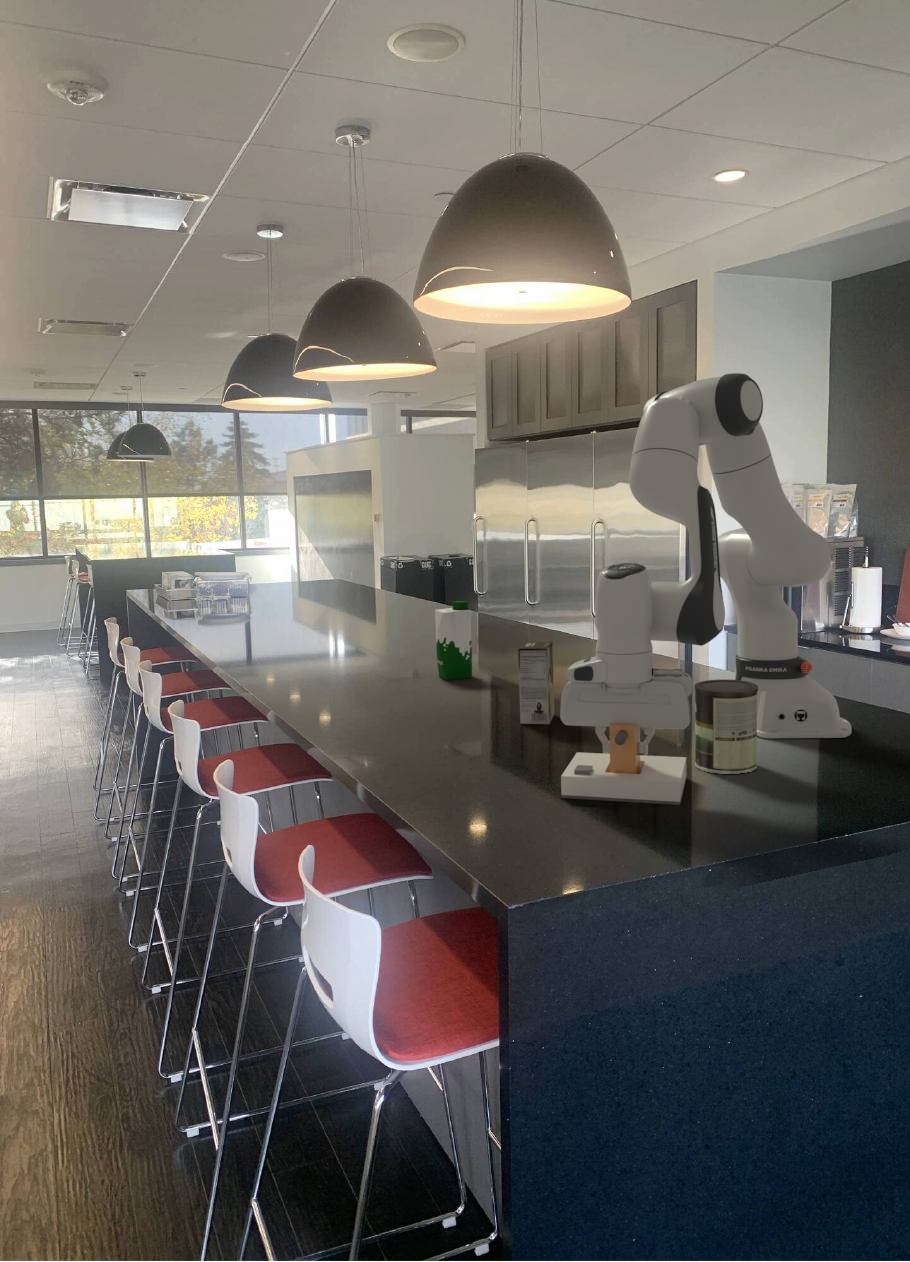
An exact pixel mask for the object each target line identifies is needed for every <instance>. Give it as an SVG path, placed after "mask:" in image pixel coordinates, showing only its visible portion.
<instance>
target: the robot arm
mask: <svg viewBox="0 0 910 1262" xmlns="http://www.w3.org/2000/svg"><path fill="white" fill-rule="evenodd" d="M763 410H764V398H763V395H762V392H761V389H760V386H759V384H758V383H757V382H756V381H755V380H754V378H752V377H750V376H749V375H748V374H746V373H741V372H739V373H738V372H737V373H736V372H735V373H725V374H723V375H722V376H714V377H707V378H702V379H698V380H693V381H692V382H690V383H687V384H685V385H682V386H679V387H676V388H674V389H671V390H668V391H662V392H660V393H658V394H655V395H654V396H652V397H651V398H649V399H648V400H647V401H646V403H645V404H644V406H643V409H642V412H641V414H640V422H639V425H638V428H637V430H636V435H635V439H634V442H633V447H632V452H631V458H630V467H629V475H628V476H629V480H628V481H629V488H630V492H631V494H632V495H633V497H634V499H635V500H636V501H637V503H639V504H640V505H641V506H642V507H643V508H645V509H646V510H648V511H650V512H651V513H653V514H655V515H657V516H660V517H663V518H665V519H667V520H671V521H674V522H676V523H678V524H680V525H682V526H683V527H685V528H686V530H687V532H688V540H689V541H688V542H689V544H688V545H689V559H690V560H689V562H690V563H689V564H690V576H689V578H688V579H687V580H685V581H655V580H650V575H649V572H648V568H647V567H646V566H645V565H643V564H639V563H637V562H636V563H635V562H626V563H625V562H624V563H618V564H617V563H616V564H612V565H608V566H606V567H604V568H603V569H602V570H600V571H599V574H598V576H597V581H596V589H595V599H594V624H595V627H596V631H597V640H596V644H595V656H592V657H588V658H585V659H581V660H579V661H576V662H574V663H572V664H571V665H570V666H569V667H568V668H567V672H566V678H567V680H568V681H567V683H566V685H564V687H563V689H562V693H561V700H560V709H559V710H560V713H559V714H560V717H559V718H560V720H561V721H562V723H563V724H564V725H566V726H574V727H575V726H576V727H577V726H581V727H595V728H594V730H595V731H594V732H595V734H596V736H597V738H598V739H599V741H600V742H601V744H602V754H610V740H609V739H608V737H607V736H606V733H605V732H606V731H607V727H608V728H609V725H610V724H611V723H613V724H636V727H637V728H640V729H644V730H643V731H644V735H646V737H645V739H644V741H640V742H638V744H637V749H638V751H637V754H638V755H646V756H648V753H649V743H650V742H651V741H652V739H653V736H654V735H655V732H656V731H655V730H656V729H658V730H659V729H660V730H662V729H665V730H667V729H668V730H685V729H687V727H689V726H690V724H691V717H692V716H691V704H690V696H691V695H692V693H693V679H692V677H691V675H690V674H689V673H688V672H685V671H683V669H680V668H674V669H669V668H668V669H667V668H654V663H653V662H654V661H653V660H654V658H653V657H654V656H653V655H654V654H653V653H654V652H653V643H652V641H656V642H657V641H658V642H659V641H660V642H678V643H681V644H687V645H694V646H701V647H702V646H704V645H706V644H708V643H709V642H711V641H713V640H714V639H715V638H716V637H718V635H719V634H720V633H722V631H723V630H724V626H725V622H726V621H725V620H726V607H725V602H724V596H723V595H724V594H723V589H722V581H723V582H724V583H725V585H726V587H727V589H728V592H729V593H730V596H731V599H732V602H733V606H734V608H735V613H736V620H737V621H736V622H737V623H736V624H737V654H736V656H735V661H734V680H741V681H747V682H751V683H754V684H756V685H758V691H757V737H759V738H763V739H833V738H835V739H838V738H839V739H840V738H841V739H843V738H847V737H849V736H851V734H852V732H853V731H852V730H853V729H852V725H851V723H850V721H848V720H847V719H845V718H843V717H841V716H840V710H839V704H838V702H837V699H836V698H835V697H834V695H833V694H832V693H831V692H830V691H828V689H826V688H824V687H823V686H822V685H821V684H820V683H818V682H816V680H814V679H813V678H811V677H810V676H809V673H811V671H812V670H813V667H812V663H811V662H809V660H807V659H806V658H804V657H801V656H799V655H798V650H799V649H798V644H799V643H798V637H799V636H798V634H799V621H798V616H797V614H796V612H795V611H794V610H793V609H792V608H791V607H790V606H789V605H787V604H786V602H785V600H784V598H783V597H782V594H781V591H780V588H779V587H785V588H797V587H803V586H809V585H814V584H816V583H818V582H820V581H821V580H822V579H823V578H825V576H826V575H827V573H828V571H829V568H830V566H831V558H832V557H831V549H830V545H829V543H828V542H827V540H826V539H825V537H824V536H822V534H819V533H818V532H816V531H815V530H814V529H812V528H811V527H810V526H809V525H808V524H807V523H806V522H804V520H803V519H802V518H801V516H800V515H799V514H798V513H797V511H796V510H795V509H794V507H793V506H792V504H791V503H790V501H789V499H788V498H787V496H786V494H785V492H784V490H783V487H782V483H781V482H780V478H779V475H778V472H777V469H776V465H775V463H774V458H773V455H772V452H771V449H770V446H769V443H768V439H767V437H766V434H765V432H764V429H763V427H762V425H761V422H760V421H761V418H762V415H763ZM700 446H705V450H706V455H707V461H708V464H709V467H710V471H711V475H712V479H713V483H714V485H715V488H716V491H717V492H716V493H717V495H718V498H719V501H720V505H721V507H722V509H723V511H724V512H725V513H726V514H727V515H728V516H729V517H731V518H732V519H734V520H735V521H736V522H737V523H738V524H739V525H740V526H741V528H736V529H733V530H730V531H727V532H723V533H722V534H720V535H719V536H718V526H717V523H718V522H717V515H716V507H715V503H714V499H713V496H712V494H711V492H710V490H709V488H707V487H705V486H702V485H701V483H700V481H699V477H698V464H699V453H700ZM721 579H722V580H721Z"/></svg>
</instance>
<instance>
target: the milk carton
mask: <svg viewBox="0 0 910 1262" xmlns="http://www.w3.org/2000/svg"><path fill="white" fill-rule="evenodd" d="M434 616H435V639H436V640H435V641H436V643H435V645H436V661H437V662H436V664H437V671H438V676H439V677H441V678H442V679H444V680H445V681H453V680H462V679H471V678H473V646H472V645H473V643H472V610H471V609H470V608H469V602H468V600H455V601H452V607H450V608H442V609H435V610H434Z"/></svg>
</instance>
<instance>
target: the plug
mask: <svg viewBox="0 0 910 1262" xmlns="http://www.w3.org/2000/svg"><path fill="white" fill-rule="evenodd" d="M608 728H609V741H610V773H628V774H640V755H638V754H637V751H638V749H637V744H638V742H641V728H637V727H636V724H613V723H611V724H610V725H609V727H608Z"/></svg>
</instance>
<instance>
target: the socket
mask: <svg viewBox="0 0 910 1262" xmlns="http://www.w3.org/2000/svg"><path fill="white" fill-rule="evenodd" d="M686 782H687V757H686V756H685V757H684V756H666V755H665V756H664V755H640V774H628V773H610V754H603V752H602V753H600V752H599V753H597V752H596V753H595V752H580V751H579V752H578V751H577V752H575V755H574V756H573V758H572V759H571V761H570V762H569V763H568V765H567V767H566V768H565V770H564V771H563V773H562V774H561V776H560V783H561V784H560V786H561V787H560V790H561V796H560V797H561V799H574V800H591V801H604V802H605V801H606V802H607V801H608V802H620V803H621V802H624V803H642V804H654V805H655V804H656V805H657V804H658V805H671V806H673V805H674V806H681V803H682V798H683V795H684V789H685V786H686Z"/></svg>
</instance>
